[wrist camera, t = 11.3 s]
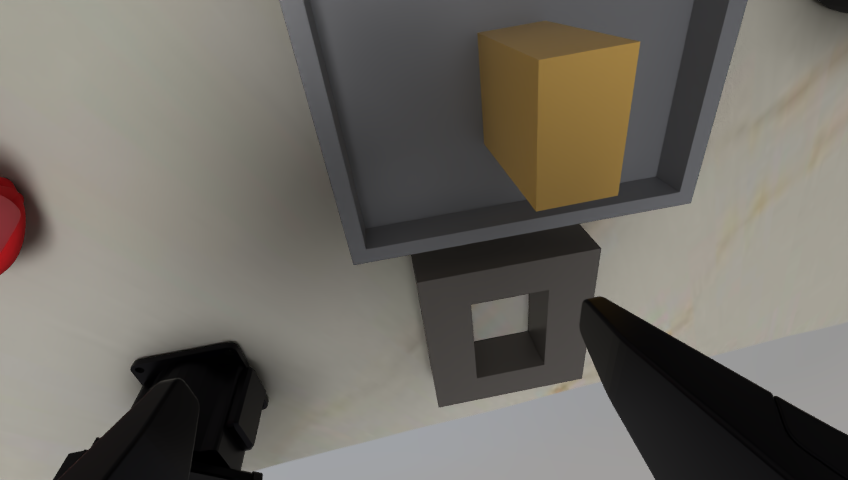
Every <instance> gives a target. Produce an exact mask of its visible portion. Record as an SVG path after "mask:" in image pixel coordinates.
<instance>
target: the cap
mask: <svg viewBox="0 0 848 480" xmlns="http://www.w3.org/2000/svg"><path fill="white" fill-rule="evenodd" d="M23 203H24V198H23V196H22V195H21V193H18V192H17V190H16V188H15V186H14V184H13V183H12V182H11V181H10V180H9V179H6V178H3V177H0V275H1V274H2V273H3V272H4V271H6V270H7V269H8V268H9V267H10V266H11V265H12V264H13V262H14V261H15V260H16V258H17V256H18V255H19V252H20V250H21V247H22V244H23V240H24V235H25V225H26V214H25V207H24V204H23Z"/></svg>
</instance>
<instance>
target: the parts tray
mask: <svg viewBox="0 0 848 480" xmlns="http://www.w3.org/2000/svg"><path fill="white" fill-rule="evenodd" d="M279 1H280V5H281V8H282V12H283V15H284V19H285V23H286V26H287V30H288V33H289V37H290V40H291V44H292V47H293V51H294V55H295V58H296V62H297V65H298V69H299V72H300V76H301V79H302V83H303V87H304V90H305V94H306V97H307V101H308V104H309V108H310V111H311V115H312V119H313V122H314V126H315V129H316V133H317V136H318V140H319V143H320V147H321V151H322V154H323V158H324V161H325V165H326V168H327V172H328V175H329V179H330V183H331V186H332V190H333V193H334V197H335V200H336V204H337V207H338V211H339V215H340V218H341V222H342V225H343V229H344V232H345V236H346V239H347V243H348V247H349V250H350V254H351V257H352V261H353V264H354V265H357V264H363V263H368V262H373V261H379V260H384V259H390V258H395V257H401V256H406V255H411V254H417V253H422V252H428V251H433V250H439V249H444V248H450V247H455V246H460V245H466V244H471V243H477V242H482V241H488V240H493V239H498V238H504V237H509V236H515V235H520V234H526V233H531V232H536V231H542V230H547V229H553V228H558V227H564V226H569V225H575V224H580V223H585V222H591V221H596V220H602V219H607V218H613V217H618V216H623V215H629V214H634V213H640V212H645V211H651V210H656V209H661V208H667V207H672V206H678V205H683V204H689V203H691V201H692V197H693V194H694V190H695V186H696V183H697V179H698V176H699V172H700V169H701V165H702V161H703V158H704V154H705V151H706V147H707V144H708V140H709V136H710V133H711V129H712V126H713V122H714V119H715V115H716V111H717V108H718V104H719V101H720V97H721V94H722V90H723V87H724V83H725V79H726V76H727V72H728V69H729V65H730V62H731V58H732V54H733V51H734V47H735V44H736V40H737V37H738V33H739V29H740V26H741V22H742V19H743V15H744V12H745V8H746V4H747V1H748V0H279ZM540 21H549V22H554V23H559V24H563V25H568V26H572V27H577V28H581V29H586V30H590V31H595V32H599V33H604V34H608V35H613V36H618V37H622V38H627V39H631V40H636V41H640V48H639V55H638V61H637V68H636V75H635V82H634V89H633V96H632V103H631V110H630V116H629V123H628V130H627V137H626V144H625V151H624V158H623V165H622V171H621V178H620V185H619V192H618V196H613V197H608V198H603V199H598V200H593V201H588V202H583V203H577V204H572V205H567V206H562V207H557V208H552V209H547V210H542V211H537V212H536V211H535V210H534V208H533V207H532V206H531V204H530V203H529V202H528V200H527V199H526V198H525V197H524V195H523V194H522V193H521V191H520V190H519V189H518V187H517V186H516V185H515V184H514V182H513V181H512V180H511V178H510V177H509V176H508V174H507V173H506V172H505V171H504V169H503V168H502V167H501V165H500V164H499V163H498V161H497V160H496V159H495V158H494V156H493V155H492V154H491V152H490V151H489V150H488V148H487V147H486V146H485V144H484V134H483V118H482V101H481V84H480V68H479V51H478V34H477V33H479V32H484V31H490V30H495V29H501V28H507V27H512V26H518V25H523V24H529V23H535V22H540Z"/></svg>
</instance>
